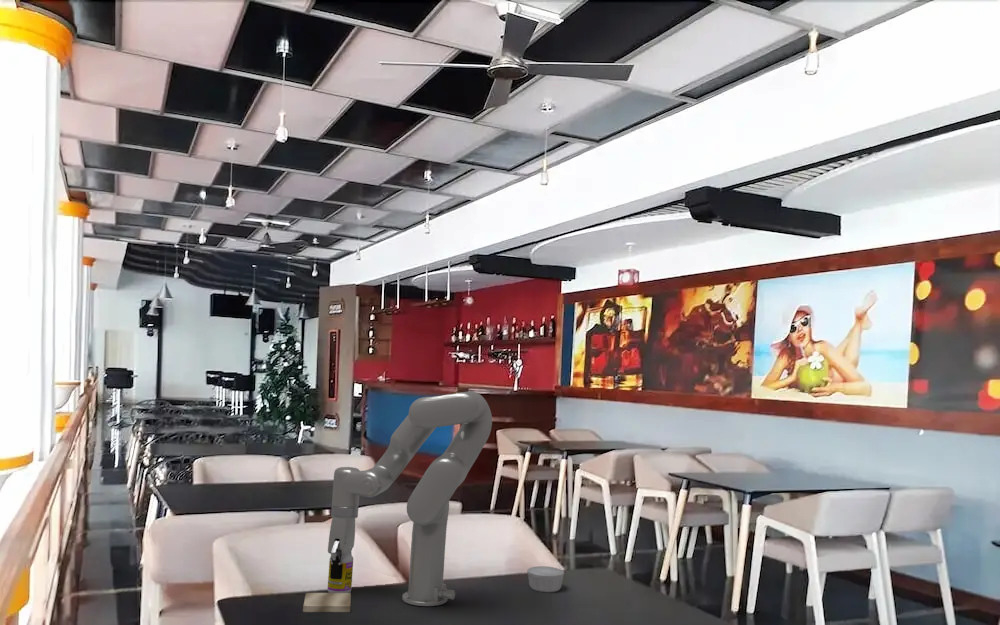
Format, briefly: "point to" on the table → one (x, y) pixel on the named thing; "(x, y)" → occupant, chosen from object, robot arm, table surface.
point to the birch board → (327, 602)
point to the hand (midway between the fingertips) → (340, 574)
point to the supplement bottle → (346, 581)
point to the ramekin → (545, 578)
